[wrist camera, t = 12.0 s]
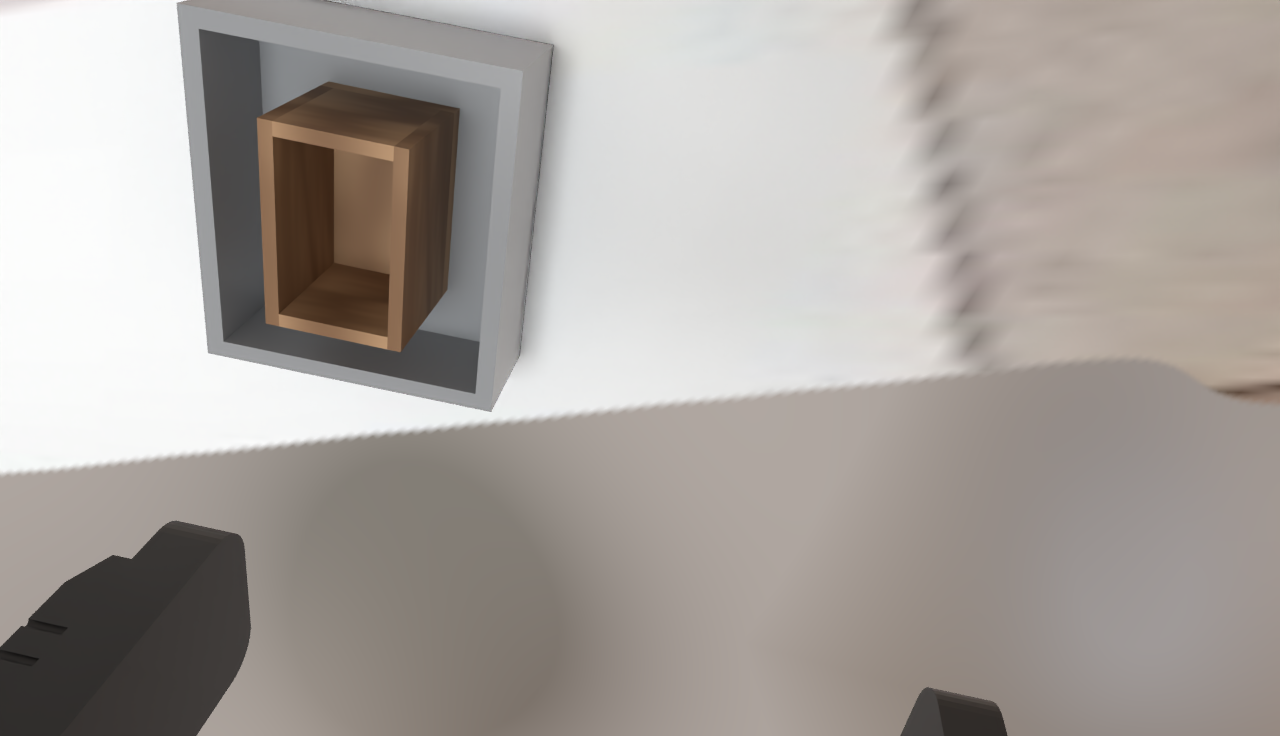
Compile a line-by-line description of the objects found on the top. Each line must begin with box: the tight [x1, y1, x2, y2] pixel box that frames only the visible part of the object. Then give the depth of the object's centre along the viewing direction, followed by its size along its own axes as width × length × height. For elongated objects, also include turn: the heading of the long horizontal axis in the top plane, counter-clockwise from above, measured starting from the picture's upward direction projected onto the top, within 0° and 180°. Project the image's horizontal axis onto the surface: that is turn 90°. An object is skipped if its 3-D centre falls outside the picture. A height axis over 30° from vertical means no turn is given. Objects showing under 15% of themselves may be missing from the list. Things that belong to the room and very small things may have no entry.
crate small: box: [257, 81, 460, 352], centre depth 40 cm, size 6×9×6 cm, turn 170°
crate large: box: [177, 0, 553, 412], centre depth 41 cm, size 14×16×6 cm
